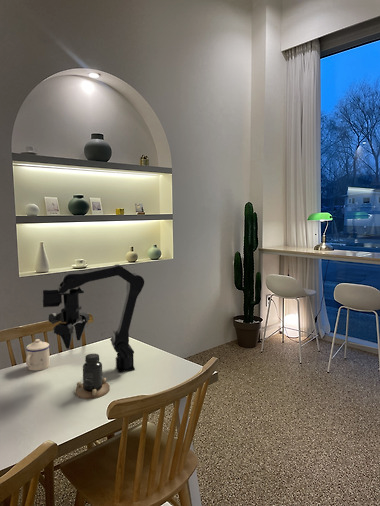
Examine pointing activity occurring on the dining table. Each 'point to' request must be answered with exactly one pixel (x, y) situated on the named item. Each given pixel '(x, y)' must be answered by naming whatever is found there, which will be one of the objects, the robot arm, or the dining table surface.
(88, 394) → the dowel base
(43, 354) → the teacup with lid
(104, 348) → the dining table surface
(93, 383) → the supplement bottle
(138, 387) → the dining table surface
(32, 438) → the dining table surface
